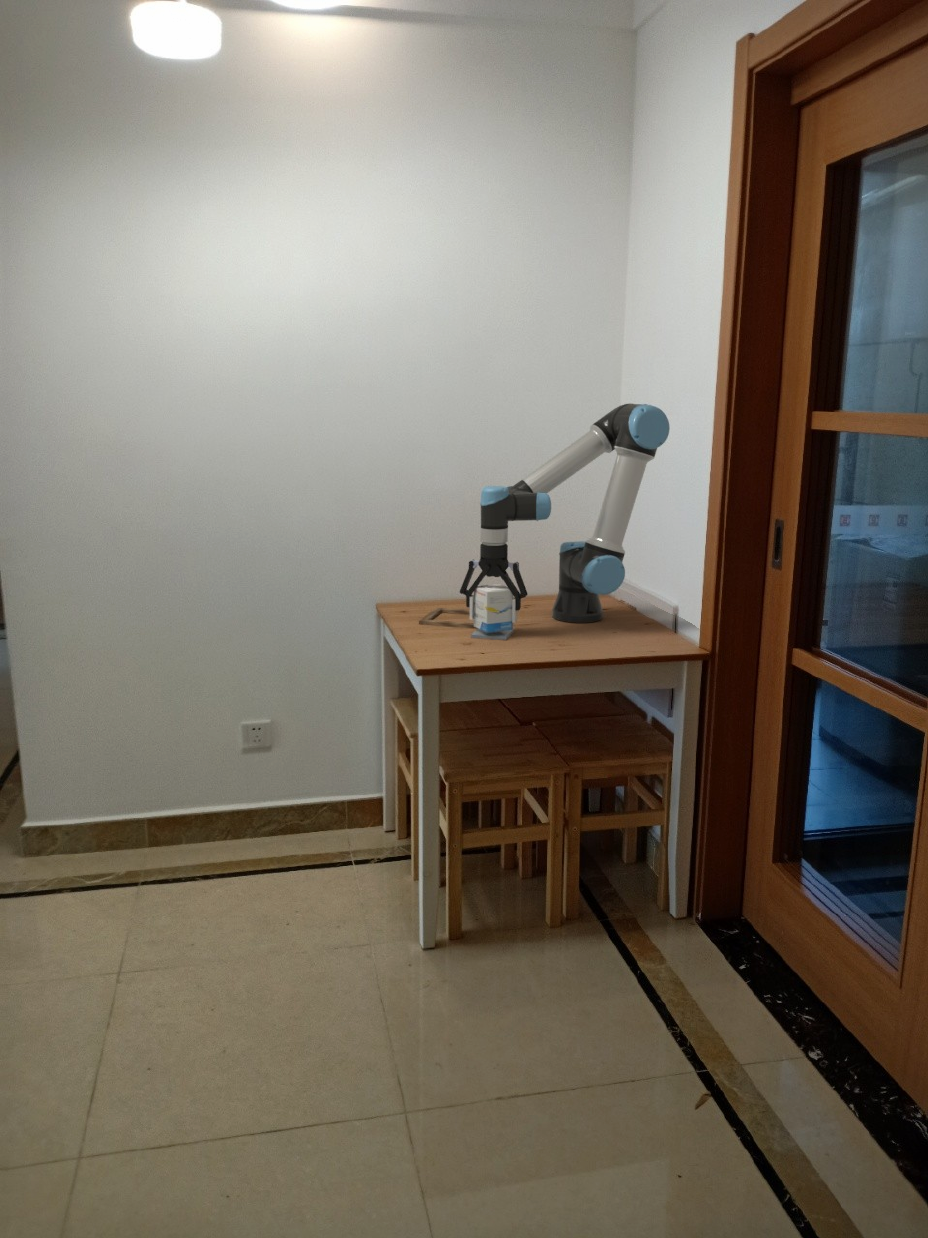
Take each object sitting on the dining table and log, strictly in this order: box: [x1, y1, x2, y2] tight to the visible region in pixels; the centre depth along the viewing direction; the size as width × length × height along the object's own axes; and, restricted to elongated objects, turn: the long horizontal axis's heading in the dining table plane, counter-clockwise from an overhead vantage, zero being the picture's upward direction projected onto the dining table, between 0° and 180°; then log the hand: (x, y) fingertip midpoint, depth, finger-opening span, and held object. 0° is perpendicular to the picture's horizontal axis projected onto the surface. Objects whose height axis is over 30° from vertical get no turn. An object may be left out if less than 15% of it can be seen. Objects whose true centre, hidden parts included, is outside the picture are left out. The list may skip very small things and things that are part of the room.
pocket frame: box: [418, 607, 477, 629], centre depth 302 cm, size 18×18×1 cm
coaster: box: [470, 628, 515, 641], centre depth 284 cm, size 10×10×1 cm
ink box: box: [473, 583, 514, 633], centre depth 283 cm, size 9×8×12 cm
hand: (493, 620), depth 283 cm, fingers closed on ink box, 11 cm apart
